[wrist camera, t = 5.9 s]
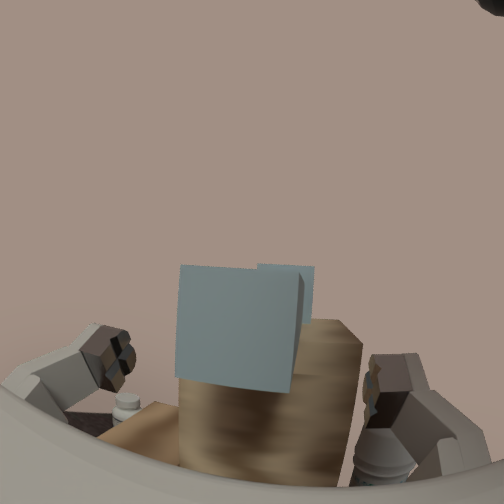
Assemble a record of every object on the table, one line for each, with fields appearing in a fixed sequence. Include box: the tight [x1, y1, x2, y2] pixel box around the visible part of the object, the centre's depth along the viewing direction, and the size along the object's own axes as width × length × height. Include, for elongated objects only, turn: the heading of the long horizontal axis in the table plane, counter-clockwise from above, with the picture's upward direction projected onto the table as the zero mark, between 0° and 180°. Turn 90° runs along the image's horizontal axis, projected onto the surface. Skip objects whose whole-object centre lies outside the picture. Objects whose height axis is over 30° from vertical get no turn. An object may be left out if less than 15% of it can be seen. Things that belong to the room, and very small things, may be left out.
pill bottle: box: [112, 393, 142, 427], centre depth 40 cm, size 5×5×10 cm
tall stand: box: [179, 319, 363, 487], centre depth 22 cm, size 11×14×26 cm
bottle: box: [349, 422, 416, 487], centre depth 21 cm, size 7×7×20 cm
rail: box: [175, 264, 314, 393], centre depth 20 cm, size 5×23×5 cm, turn 169°
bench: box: [97, 401, 180, 467], centre depth 20 cm, size 8×20×14 cm, turn 169°
